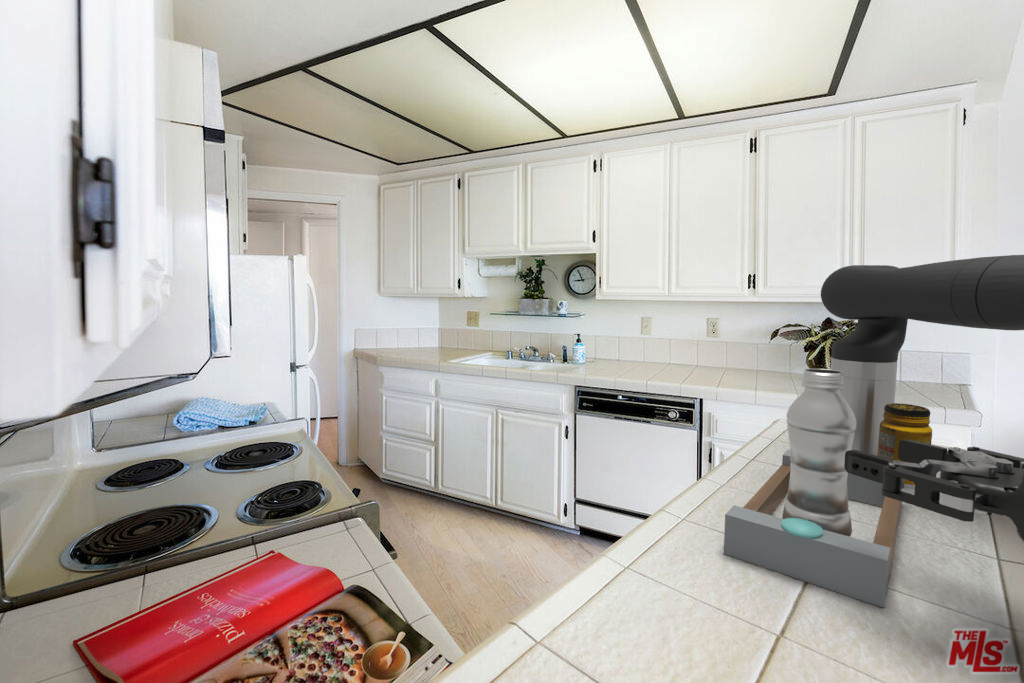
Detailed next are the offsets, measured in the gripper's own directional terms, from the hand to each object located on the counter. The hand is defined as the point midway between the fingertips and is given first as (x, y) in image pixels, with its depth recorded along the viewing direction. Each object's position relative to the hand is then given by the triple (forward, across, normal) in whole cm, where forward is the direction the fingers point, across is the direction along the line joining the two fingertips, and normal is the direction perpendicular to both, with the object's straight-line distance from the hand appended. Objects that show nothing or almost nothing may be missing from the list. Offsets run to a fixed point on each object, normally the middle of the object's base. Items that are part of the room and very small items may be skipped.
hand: (874, 454), depth 48 cm
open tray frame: (+8, -6, +12) cm, 16 cm away
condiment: (+13, -29, +12) cm, 34 cm away
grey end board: (+3, +6, +12) cm, 14 cm away
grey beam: (+14, -18, +12) cm, 26 cm away
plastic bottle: (+6, -1, +13) cm, 14 cm away
